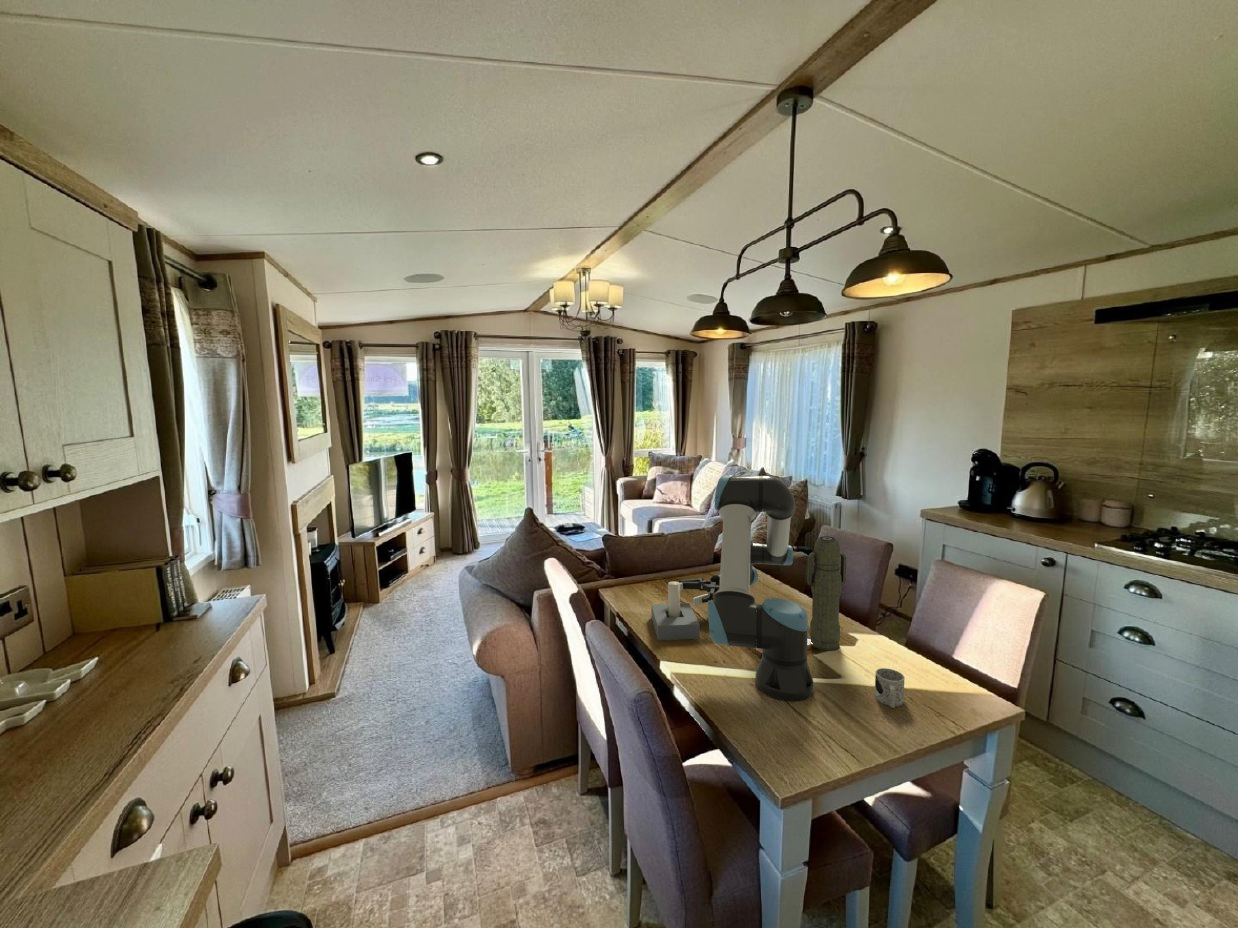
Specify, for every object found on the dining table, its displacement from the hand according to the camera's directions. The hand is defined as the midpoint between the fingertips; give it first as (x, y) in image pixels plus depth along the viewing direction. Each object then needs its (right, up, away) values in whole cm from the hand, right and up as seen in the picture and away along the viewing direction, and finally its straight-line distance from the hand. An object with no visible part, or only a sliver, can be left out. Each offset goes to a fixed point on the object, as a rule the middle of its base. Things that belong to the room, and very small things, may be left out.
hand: (680, 595), depth 176 cm
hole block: (-2, -11, -1) cm, 11 cm away
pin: (-2, -10, -1) cm, 10 cm away
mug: (+48, -15, -47) cm, 69 cm away
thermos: (+45, -12, -15) cm, 49 cm away
